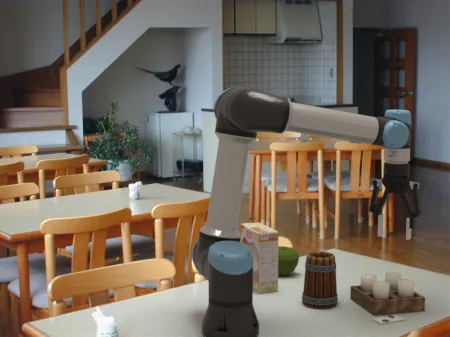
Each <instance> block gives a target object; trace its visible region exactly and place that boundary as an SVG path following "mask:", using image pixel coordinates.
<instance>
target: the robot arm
mask: <svg viewBox="0 0 450 337" xmlns="http://www.w3.org/2000/svg"><path fill="white" fill-rule="evenodd" d="M213 105H214V106H213V114H214V116H215V119H216V123H215V129H214V134H215V136H216V137H217V138H218V145H217V153H216V158H215V165H214V172H213V178H212V183H211V190H210V199H209V203H208V210H207V215H206V216H207V217H206V223H205V225H203V226H202V227H200V229H199V232H198V239H197V240H196V241H195V243H194V244H193V247H192V249H191V258H192V263H193V265H194V267H195V269H196V271H197V272H198V273H199V274H200V275H201V276H202V277H204V278H205V280H206V281H207V282H208V305H207V308H206V311H205V315H204V316H203V319H202V323H201V334H202V335H203V336H204V337H258V335H259V333H260V324H259V323H260V322H259V320H258V316H257V314H256V311H255V308H254V307H255V306H254V303H253V302H254V301H253V300H254V299H253V297H254V295H253V294H254V290H253V263H254V260H253V252H252V250H251V248H250V247H249V246H248V245H246V244H244V243H241V232H239V230H238V229H237V228H238V221H239V215H240V209H241V203H242V202H241V201H242V196H243V192H244V184H245V176H246V171H247V170H246V169H247V164H248V158H249V153H250V152H249V151H250V146H251V144H252V143H253V142H255V141H256V140H257V136H258V133H273V134H279V135H281V134H284V133H285V132H291V133H298V134H304V135H311V136H317V137H323V138H327V139H336V140H342V141H348V142H349V143H351V144H359V145H360V144H366V145H371V146H375V147H377V146H378V147H382V148H383V161H384V163H383V171H382V172H383V176H382V178H380V179H377V178H376V179H374V180H373V181H372V191H371V192H372V193H371V199H370V203H369V208H368V211H369V213H373V214H374V224H375V226H377V237H380V238H381V237H382V236H383V235H384V213H382V211H383V209H384V207H385V205H386V203H387V202H388V199H389V197H390V195H391V194H397V195H400V197H401V198H402V199H401V200H402V201H403V204H404V206H405V209H406V212H407V214H408V217H406V226H405V227H406V228H405V230H406V231H405V240H406V241H409V240H411V239H412V230H413V229H415V227H416V226H415V225H416V218H419V217H420V216H422V214H423V212H422V207H421V206H422V205H421V200H420V199H421V198H420V182H414V181H411V179H410V167H411V166H410V165H411V164H410V163H409V162H410V161H411V140H412V139H411V138H412V137H411V136H412V135H411V134H412V127H413V126H412V114H411V111H409V110H407V109H387V110H385V113H384V116H377V117H376V116H370V115H364V114H358V113H352V112H347V111H341V110H339V109H338V110H336V109H331V108H325V107H321V106H315V105H308V104H303V103H297V102H293V101H291V100H290V98H288V97H287V96H286V97H285V96H281V95H276V94H274V93H270V92H266V91H265V90H262V89H258V88H255V87H243V86H232V87H230V88H227V89H224V90H223V91H222V92H221V93H219V94H218V95H217V97H216V99H215V102H214V104H213ZM382 185H383V187H384V188H385V189H384V191H383V194H382V196H381V198H380V200H379V201H378V198H379V194H380V188H381V187H382ZM409 186H410V190H412V192H411V194H412V200H413V204H412V202H411V200H410V197H409V193H408V190H407V189H408V187H409ZM378 202H379V203H378ZM377 204H378V205H377Z"/></svg>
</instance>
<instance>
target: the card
mask: <svg viewBox="0 0 450 337" xmlns="http://www.w3.org/2000/svg"><path fill="white" fill-rule="evenodd" d="M371 321H373V322H376V323H377V324H378V325H381V326H382V325H386V324H392V323H393V324H394V323H398V322H405V321H406V320H405V318H403V317H401V316H399V315H397V314H388V315H387V316H379V317H375V318H371Z"/></svg>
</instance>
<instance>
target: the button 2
mask: <svg viewBox="0 0 450 337" xmlns="http://www.w3.org/2000/svg"><path fill="white" fill-rule="evenodd" d="M373 299H374V300H376V301H377V300H389V283H388V282H385V280H377V281H375V282H373Z"/></svg>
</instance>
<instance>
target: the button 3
mask: <svg viewBox="0 0 450 337" xmlns="http://www.w3.org/2000/svg"><path fill="white" fill-rule="evenodd" d="M400 279H402V274H401V273H399V272H396V271H386V272H385V274H384V281H385V282H388V283H389V290H398V280H400Z"/></svg>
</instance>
